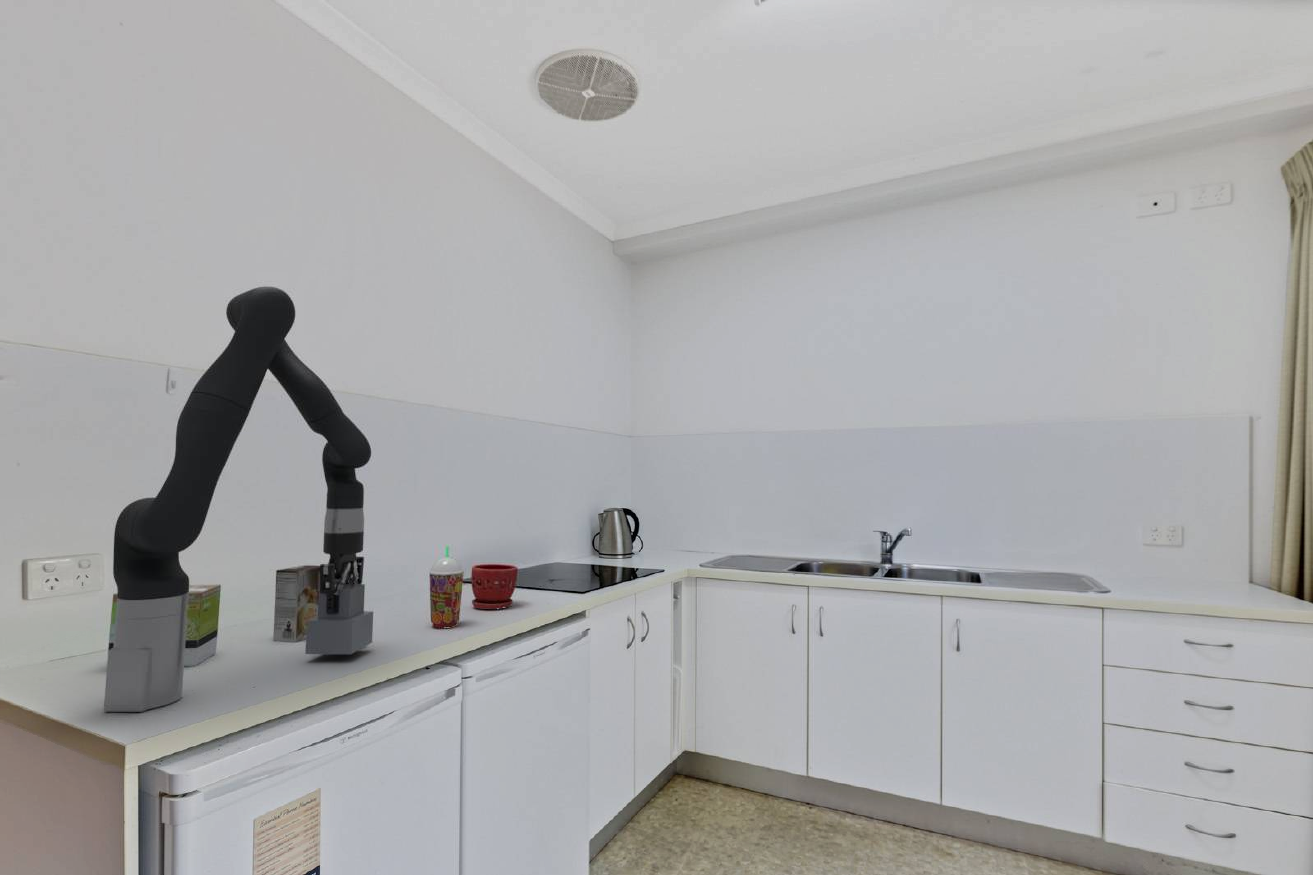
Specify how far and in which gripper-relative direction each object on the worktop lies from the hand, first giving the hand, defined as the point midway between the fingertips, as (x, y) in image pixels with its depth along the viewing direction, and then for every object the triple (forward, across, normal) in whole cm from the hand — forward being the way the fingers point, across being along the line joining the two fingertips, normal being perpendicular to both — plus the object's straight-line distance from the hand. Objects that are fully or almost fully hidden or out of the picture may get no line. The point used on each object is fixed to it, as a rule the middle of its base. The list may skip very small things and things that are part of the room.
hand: (341, 610), depth 130 cm
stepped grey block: (+8, 0, 0) cm, 8 cm away
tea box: (+10, -5, +32) cm, 34 cm away
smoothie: (+10, +28, -12) cm, 32 cm away
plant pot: (+10, +53, -18) cm, 57 cm away
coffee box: (+10, +16, +18) cm, 26 cm away
